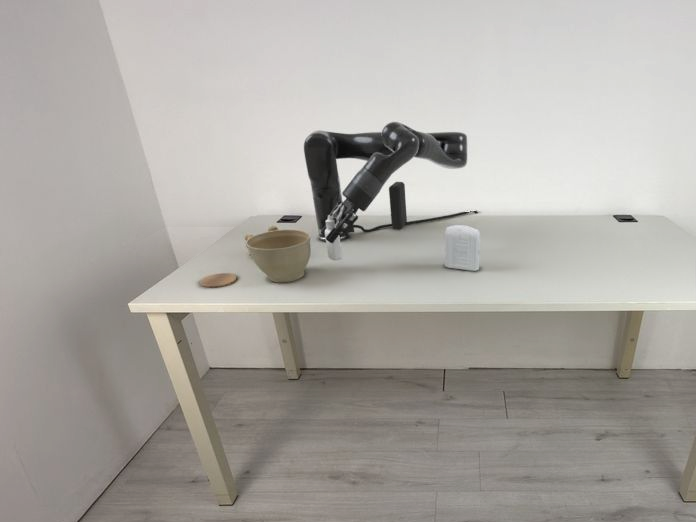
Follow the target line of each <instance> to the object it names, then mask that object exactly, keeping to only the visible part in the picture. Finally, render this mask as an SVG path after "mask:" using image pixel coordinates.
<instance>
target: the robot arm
mask: <svg viewBox="0 0 696 522" xmlns="http://www.w3.org/2000/svg"><path fill="white" fill-rule="evenodd" d="M303 153H304V160H305V165H306V170H307V176H308V179H309V182H310V188H311V195H312V201H313V206H314V212H315V219H316V225H317V232H318V239H319V240H320V241H323V242H326V240H327V241H329V242H330V243H333V242H334V241H335V240H336V238H337V237H338V236H340V241H343V240H346V239H349V237H350V236H349V234H350V233H351V234H352V233H355V229H356V228H357V229H359V230H361V231H362V232H364V233H370V232H375V231H377V230H379V229H380V230H381V229H385V228H390V227H392V224H391V223H388V224H382V225H381V224H380V225H378V226H375V227H372V228H369V229H367V228H364V226H362V225H359V224H355V223H356V222H357V220H358V219H359V215H357V212H358V210H360V211H362V212H366V211H367V209H369V206H370V205H371V204H372V203H373V202H374V200H376V197H377V196H378V195H379V194H380V192H381V190H382V188H383V187H384V185H385V184H386V183H387V182H388V180H389V179H390V178H391V176H392V175H393V174H394V173H395V172H396V171H398V170H399V169H400V168H402V167H404V165H406V164H407V163H408V162H410V161H411V160H412V159H413V158H416V159H420V160H421V159H422V160H426V161H429V162H431V163H433V164H434V165H437V166H439V167H441V168H444V169H449V170H458V169H459V170H460V169H463V168H465V167H466V166H467V165H468V135H467V134H466V133H464V132H460V131H441V132H424V131H423V132H422V131H418V130H416V129H413V128H411V127H410V126H408V125H406V124H404V123H401V122H399V121H390V122H388V123H386V125H384V127H382V130H381V131H370V132H369V131H368V132H358V133H357V132H356V133H344V132H343V133H342V132H334V131H327V130H320V129H319V130H314V131H312V132H311V133H310V134H309V135H307V137H306V138H305V140H304V143H303ZM342 159H343V160H344V159H345V160H346V159H353V160H354V159H356V160H361V161H364V162H365V161H366V162H365V164H364V165H363V166H362V167H361V169H359V170H358V172H356V174H355V175H354V177H353V178H352V179H351V180H350V181H349V183H348V184H347V186H346V187H345V188H344V190H342V188H341V187H342V186H341V178H340V175H339V174H340V173H339V169H338V162H337V160H342ZM343 197H345V199H344V200H343ZM471 212H472V213H475V214H478V213H479V211H478V210H476V211H470V212H465V211H462V212H457V213H452V214H448V215H441V216H436V217H430V218H424V219H418V220H417V219H416V220H409V221H407V222H405V225H404V226H406V225H412V224H420V223H427V222H433V221H438V220H445V219H449V218H454V217H458V216H462V215H467V214H470V213H471ZM328 215H331V218H332V219H333V220H335V226H334V228H335V229H334V228H333V229H332V230H331V231H330V233H329V234H328V235H327V237H326V238H325V229H327V228H326V220H327V219H328ZM392 228H393V227H392Z"/></svg>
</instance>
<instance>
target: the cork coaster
mask: <svg viewBox="0 0 696 522" xmlns="http://www.w3.org/2000/svg"><path fill="white" fill-rule="evenodd" d="M236 281H237V276H236V275H235V274H232V273H216V274H211V275H208V276H206V277H204V278H202V279H201V280H200V281H199V284H200V286H201V287H204V288H211V289H213V288H222V287H225V286H228V285H231V284H233V283H234V282H236Z"/></svg>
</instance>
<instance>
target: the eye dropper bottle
mask: <svg viewBox="0 0 696 522" xmlns="http://www.w3.org/2000/svg"><path fill="white" fill-rule="evenodd" d="M334 226H335V220H333V219H332V218H331V215H328V219H327V220H326V228H327V229H325V238H326V237H327V235H328V234H329V233H330V231H331V230H332V229H333V228H334ZM334 229H335V228H334ZM325 244H326V245H325V246H326V250H327V256H328V258H329V259H330V260H332V261H335V262H337V261H341V260H343V251H342V245H341V240H340V236H338V237H337V238H336V240H335V241H334V242H333V243H330V242H329V241H327V240H326V241H325Z"/></svg>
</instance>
